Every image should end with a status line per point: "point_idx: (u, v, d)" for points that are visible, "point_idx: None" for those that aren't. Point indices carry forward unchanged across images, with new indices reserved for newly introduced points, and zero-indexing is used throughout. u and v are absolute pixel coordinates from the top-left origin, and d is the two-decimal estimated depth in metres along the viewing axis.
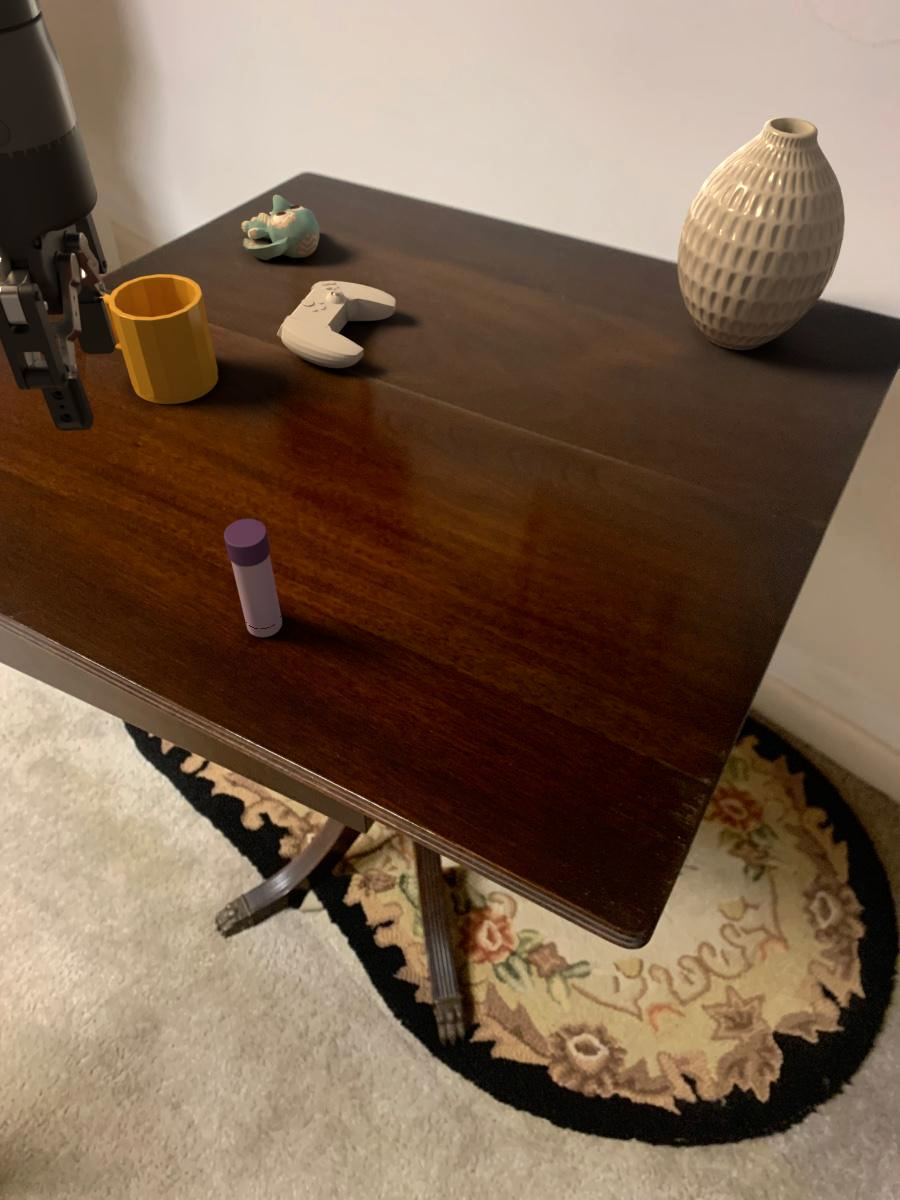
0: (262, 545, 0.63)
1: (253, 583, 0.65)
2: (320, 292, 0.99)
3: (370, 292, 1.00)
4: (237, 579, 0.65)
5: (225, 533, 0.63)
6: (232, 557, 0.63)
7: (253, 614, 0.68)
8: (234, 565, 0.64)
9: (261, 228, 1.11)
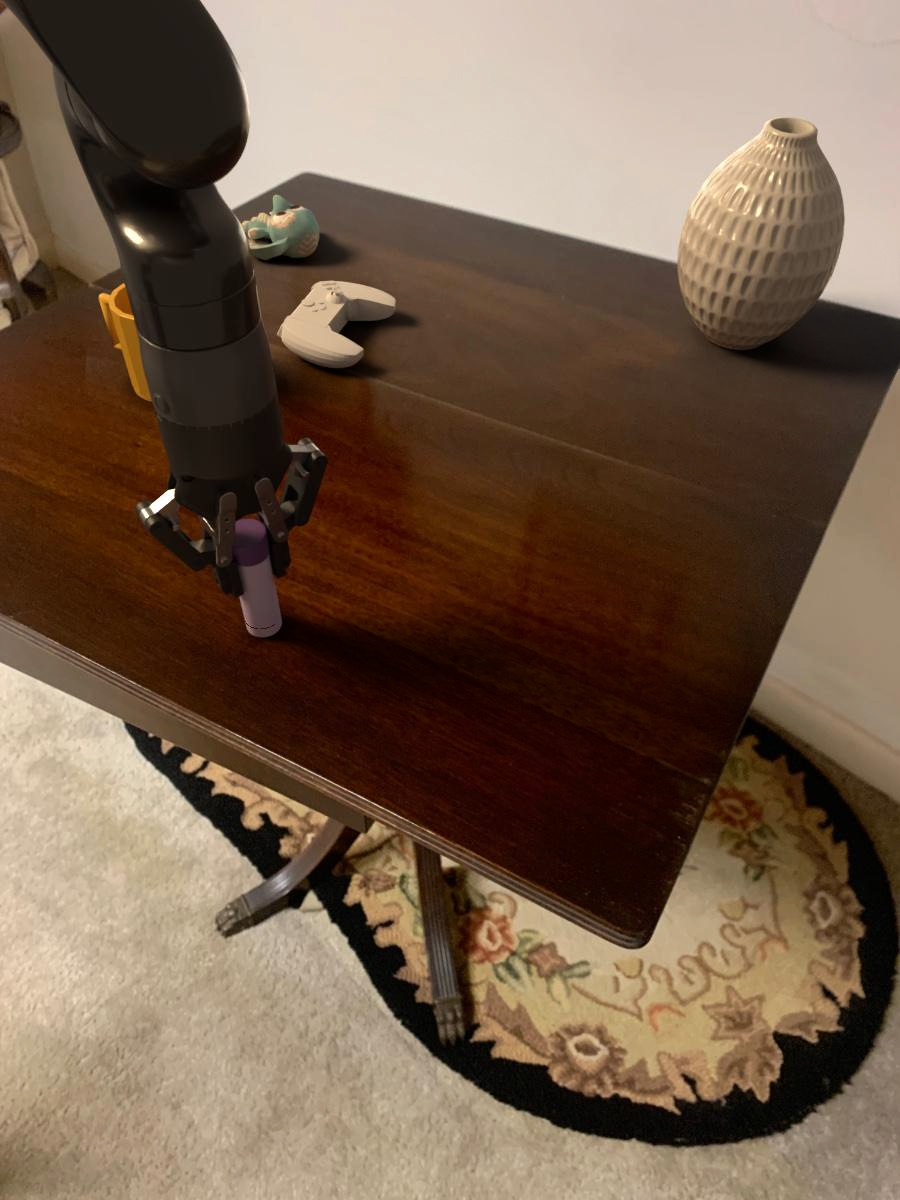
0: (262, 545, 0.63)
1: (253, 583, 0.65)
2: (320, 292, 0.99)
3: (370, 292, 1.00)
4: None
5: None
6: None
7: (252, 614, 0.68)
8: None
9: (261, 228, 1.11)
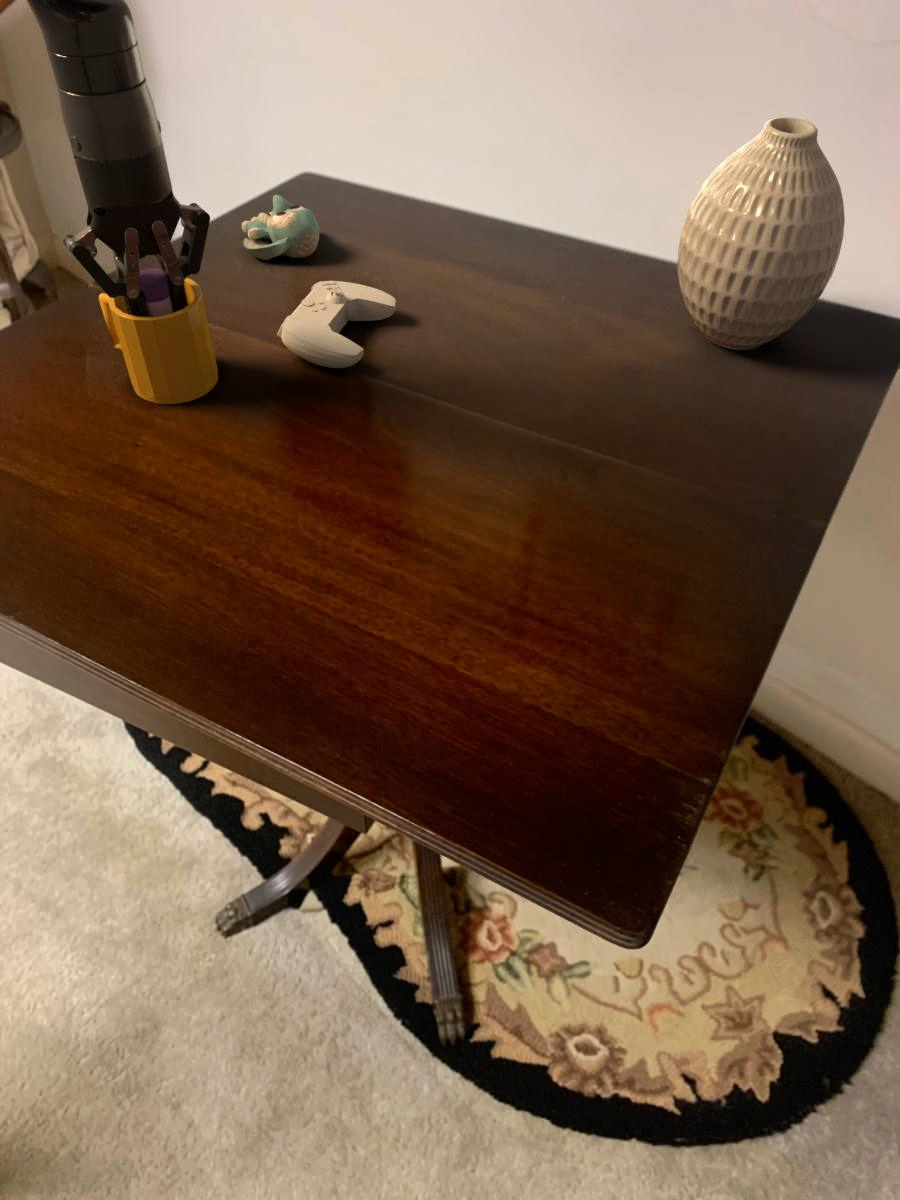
0: (163, 284, 0.84)
1: None
2: (320, 292, 0.99)
3: (370, 292, 1.00)
4: None
5: None
6: None
7: None
8: None
9: (261, 228, 1.11)
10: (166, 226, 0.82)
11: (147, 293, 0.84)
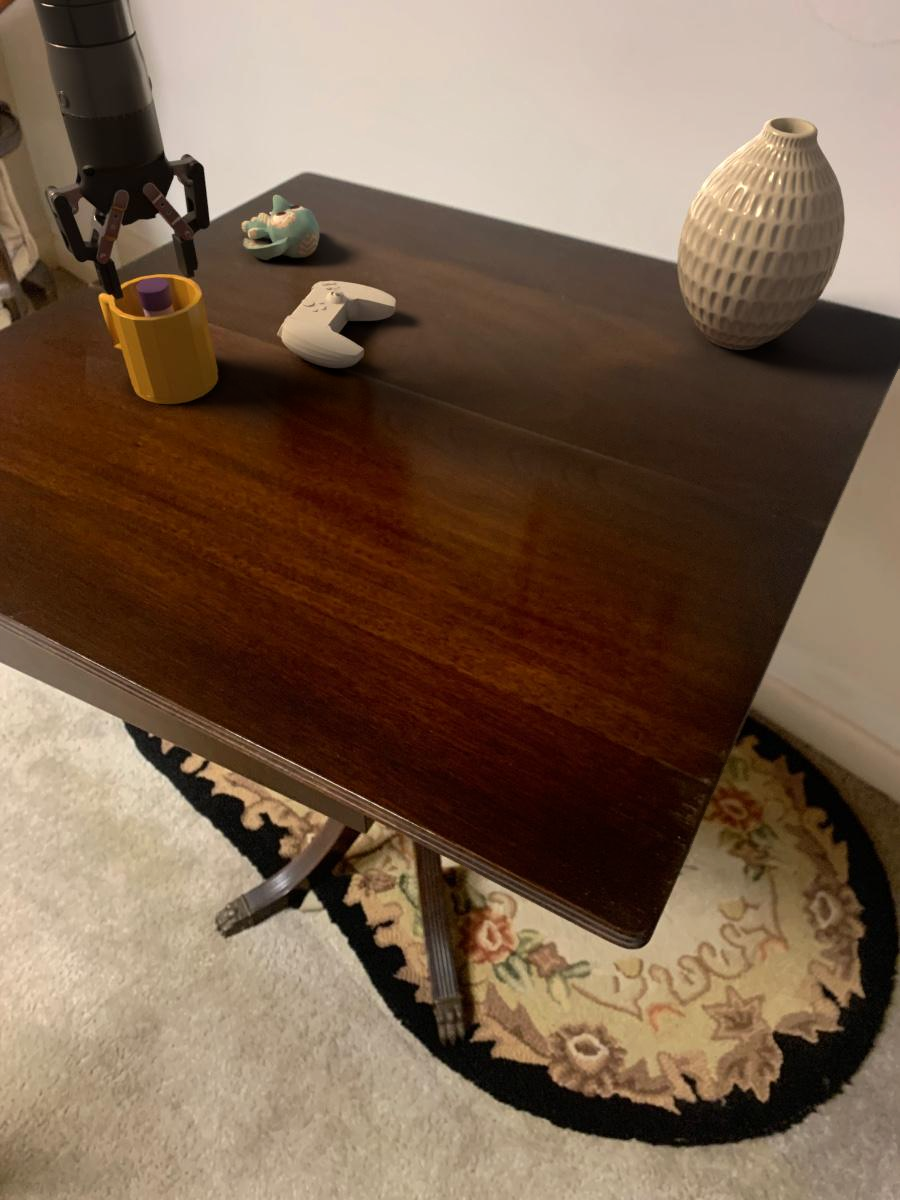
0: (165, 293, 0.85)
1: None
2: (320, 292, 0.99)
3: (370, 292, 1.00)
4: None
5: (137, 285, 0.85)
6: (143, 303, 0.85)
7: None
8: (145, 312, 0.86)
9: (261, 228, 1.11)
10: (158, 189, 0.79)
11: (149, 302, 0.85)
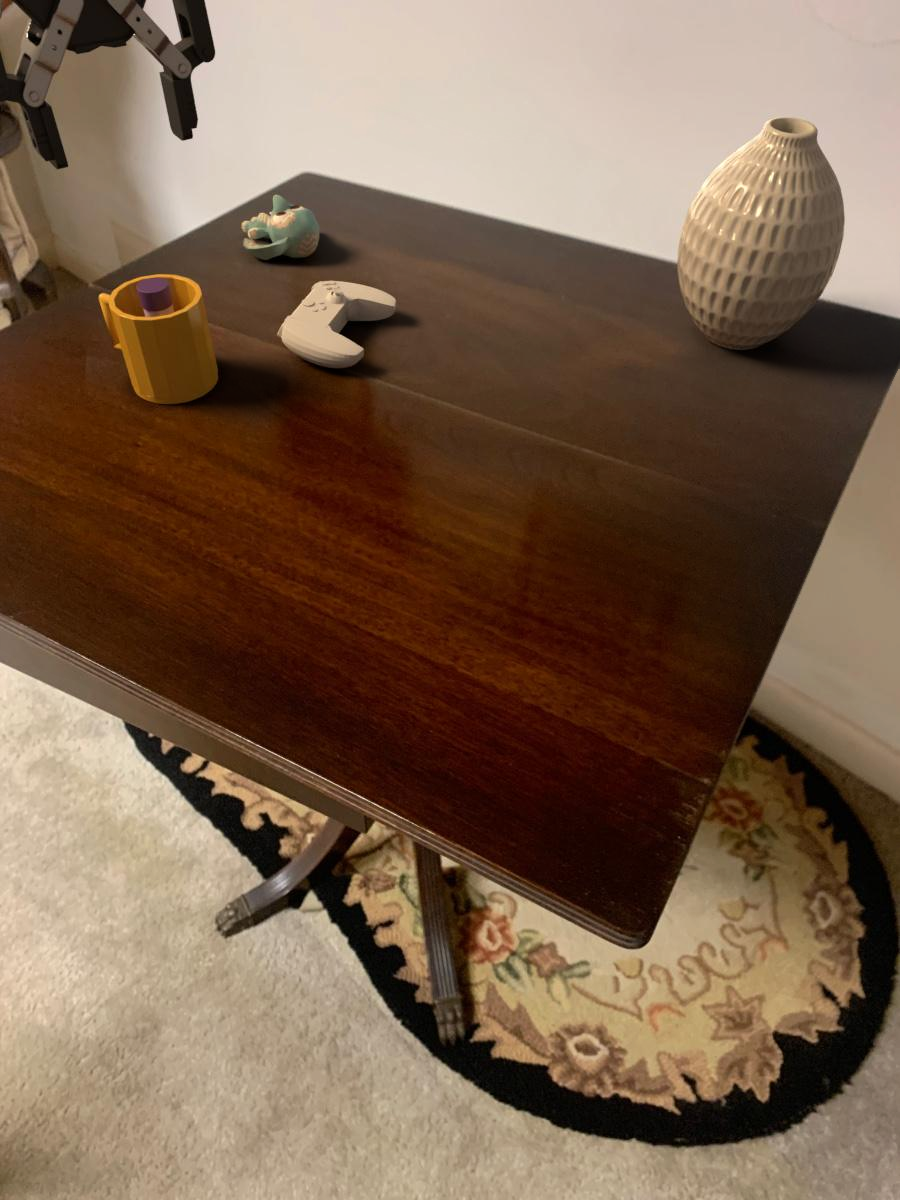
0: (165, 293, 0.85)
1: None
2: (320, 292, 0.99)
3: (370, 292, 1.00)
4: None
5: (137, 285, 0.85)
6: (143, 303, 0.85)
7: None
8: (145, 312, 0.86)
9: (261, 228, 1.11)
10: None
11: (149, 302, 0.85)
